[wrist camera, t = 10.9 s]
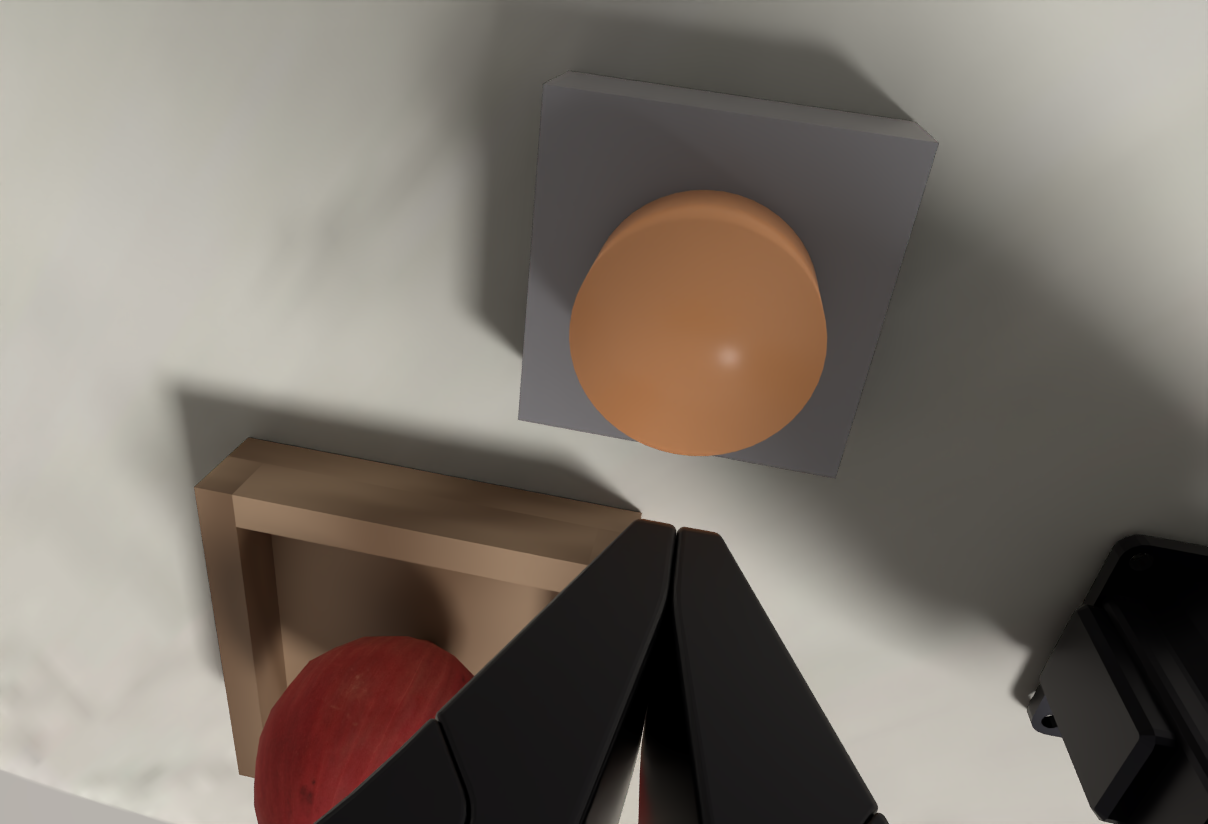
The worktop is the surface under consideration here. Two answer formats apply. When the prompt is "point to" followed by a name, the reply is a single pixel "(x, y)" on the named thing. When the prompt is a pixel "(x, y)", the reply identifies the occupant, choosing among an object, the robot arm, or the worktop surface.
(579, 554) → the tray
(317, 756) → the onion
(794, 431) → the button housing
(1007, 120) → the worktop surface
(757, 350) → the button
